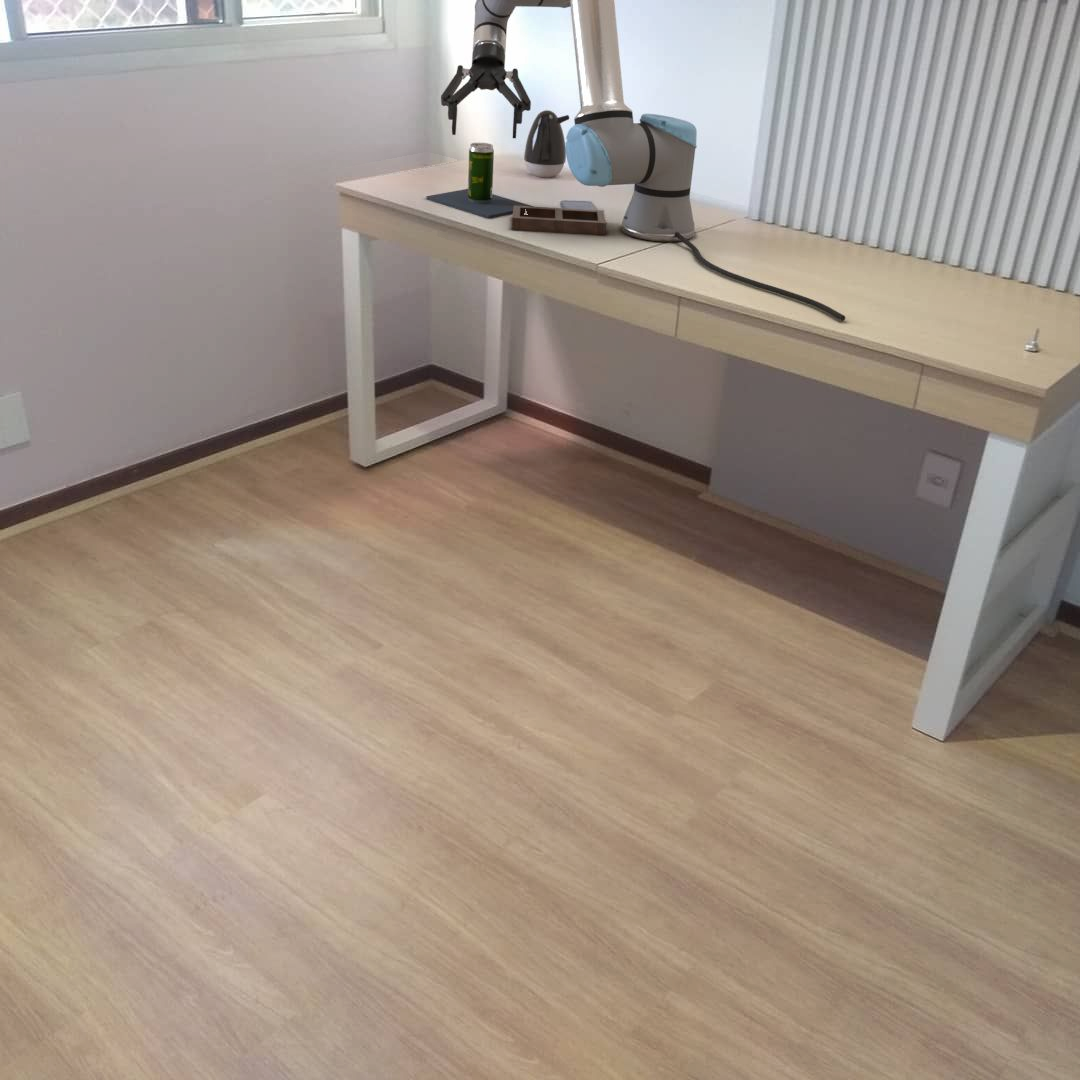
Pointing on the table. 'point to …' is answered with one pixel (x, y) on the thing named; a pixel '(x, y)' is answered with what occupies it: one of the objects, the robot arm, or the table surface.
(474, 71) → the robot arm
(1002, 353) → the table surface
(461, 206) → the slate mat
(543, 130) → the pump dispenser
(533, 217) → the can stand
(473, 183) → the beer can
